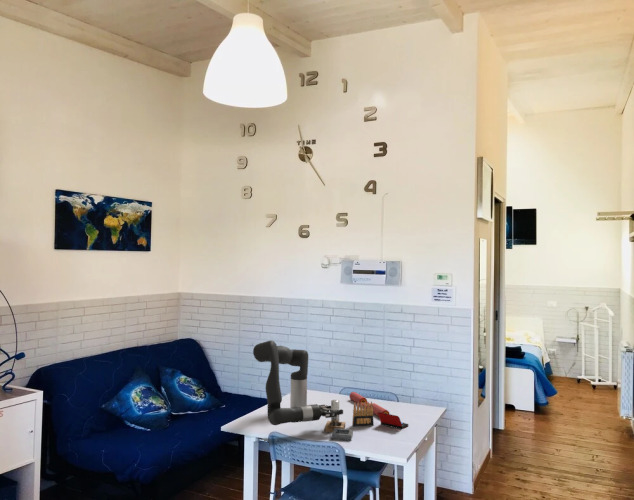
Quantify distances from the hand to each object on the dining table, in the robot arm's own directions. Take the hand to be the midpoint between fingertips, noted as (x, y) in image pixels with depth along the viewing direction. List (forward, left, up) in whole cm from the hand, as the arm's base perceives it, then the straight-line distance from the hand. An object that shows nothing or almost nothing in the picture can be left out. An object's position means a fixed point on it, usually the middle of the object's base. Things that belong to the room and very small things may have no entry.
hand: (338, 409), depth 269 cm
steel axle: (+1, -2, -9) cm, 10 cm away
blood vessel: (-40, +12, -10) cm, 43 cm away
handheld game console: (-10, +27, -10) cm, 30 cm away
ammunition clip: (-8, +11, -10) cm, 17 cm away
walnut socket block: (+1, -2, -9) cm, 10 cm away
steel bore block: (+12, +3, -9) cm, 16 cm away
